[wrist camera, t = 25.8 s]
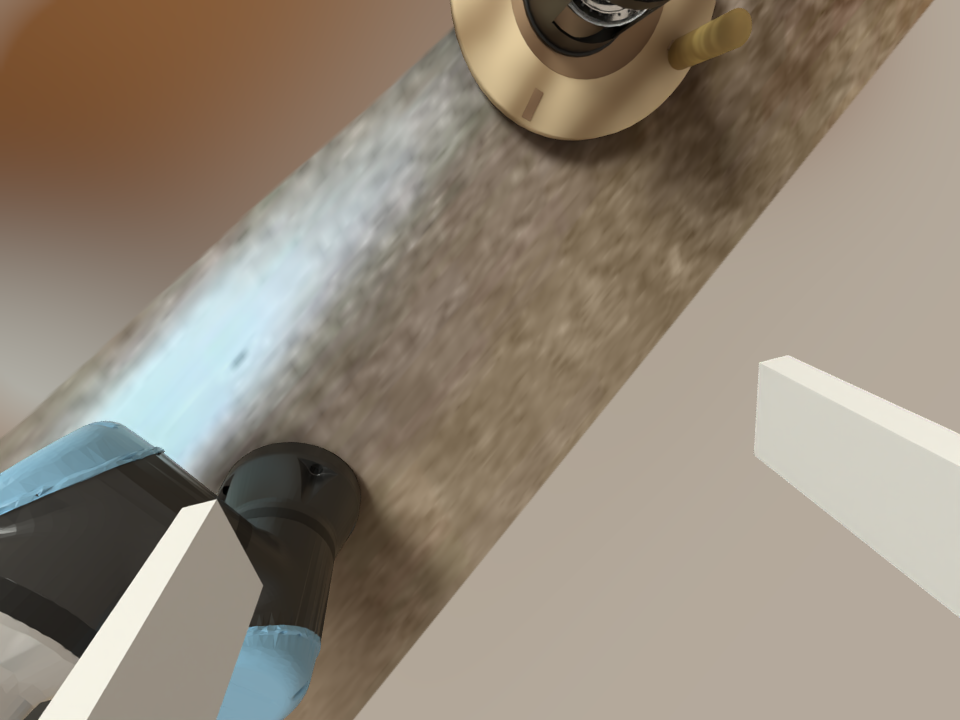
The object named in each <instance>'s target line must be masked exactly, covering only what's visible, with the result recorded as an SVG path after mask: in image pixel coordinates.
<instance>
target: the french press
mask: <svg viewBox="0 0 960 720" xmlns="http://www.w3.org/2000/svg"><path fill="white" fill-rule="evenodd" d="M669 1H670V0H523V5H524V9H525V13H526V16H527V18H528V21H529V23H530V26H531V28H532V29H533V31H534V32H535V34H536V35H537V37H538V38H539V39H540V40H541V41H542V42H543V43H544V44H545V45H546V46H547V47H548V48H550V49H551V50H553V51H554V52H556V53H559V54H561V55H564V56H567V57H576V58H578V57H587V56H590V55H593V54H596V53H598V52H600V51H601V50H603V49H604V48H606V47H608V46H609V45H610V44H611V43H612V42H613V41H614V40H615V39H616V38H617V37H618V36H619V35H620V34H622V33H623V32H625V31H626V30H627V29H629V28H630V27H632V26H633V25H635V24H636V23H638V22H639V21H641V20H642V19H644V18H645V17H647V16H648V15H650V14H651V13H653V12H654V11H656V10H657V9H658V8H660V7H661V6H663V5H664V4H666V3H667V2H669ZM566 6H568V7H569V8H570V9H571V10H572V11H573V12H574V13H575V14H576V15H577V16H579V17H580V18H582V19H583V20H585V21H588V22H590V23H593V24H595V25H598V26H605V27H604V28H603V29H602V30H601V31H599V32H598V33H596V34H594V35H591V36H588V37H574V36H571V35H570V34H568V33H567V32H565V31H564V30H562V29H561V28H560V27H559V26H558V25H557V24H556V22H555V21H554V19H555V18H556V17H557V16H558V15H559V14H560V13H561V12H562V11H563V10H564V9H565V8H566ZM647 9H648V10H647ZM646 10H647V11H646Z"/></svg>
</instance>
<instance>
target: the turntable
mask: <svg viewBox="0 0 960 720" xmlns="http://www.w3.org/2000/svg"><path fill="white" fill-rule="evenodd" d="M715 2H716V0H670V1H669V2H667V3H666V4H664V5H663V6H661V7H660V8H658V9H657V10H656V11H654V12H653V13H651V14H650V15H648V16H647V17H645V18H644V19H642V20H641V21H639V22H638V23H636V24H635V25H633V26H632V27H630V28H629V29H627V30H626V31H625V32H623V33H622V34H620V35H619V36H618V37H617V38H616V39H615V40H614V41H613V42H612V43H611V44H610V45H609V46H608V47H606V48H604V49H603V50H601V51H600V52H598V53H596V54H593V55H590V56H587V57H578V58H576V57H567V56H564V55H561V54H559V53H556V52H554V51H553V50H551V49H550V48H548V47H547V46H546V45H545V44H544V43H543V42H542V41H541V40H540V39H539V38H538V37H537V35H536V34H535V32H534V31H533V29H532V28H531V26H530V23H529V21H528V18H527V16H526V13H525V9H524V5H523V0H450V5H451V13H452V19H453V24H454V28H455V33H456V37H457V40H458V43H459V46H460V49H461V52H462V55H463V57H464V59H465V61H466V63H467V66H468V68H469V70H470V72H471V74H472V76H473V77H474V79H475V80H476V82H477V84H478V85H479V87H480V88H481V90H482V91H483V92H484V94H485V95H486V96H487V97H488V99H489V100H490V101H491V102H492V103H493V104H494V105H495V106H496V107H497V108H498V109H499V110H500V111H501V112H502V113H503V114H504V115H505V116H507V117H508V118H509V119H511V120H512V121H514V122H515V123H516V124H518V125H519V126H521V127H523V128H525V129H527V130H529V131H531V132H533V133H536V134H539V135H542V136H545V137H548V138H553V139H559V140H575V141H577V140H586V139H593V138H598V137H602V136H606V135H609V134H613V133H616V132H619V131H621V130H623V129H625V128H628V127H630V126H632V125H634V124H635V123H637V122H639V121H640V120H642V119H644V118H645V117H646V116H648V115H649V114H650V113H652V112H653V111H654V110H655V109H657V108H658V107H659V106H660V105H661V104H662V103H663V102H664V101H665V100H666V99H667V98H668V97H669V96H670V95H671V94H672V93H673V91H674V90H675V89H676V88H677V86H678V85H679V84H680V83H681V81H682V80H683V79H684V77H685V75H686V74H687V72H688V71H689V69H690V67H691V66H693V65H696V64H698V63H701V62H703V61H706V60H708V59H711V58H713V57H716V56H718V55H721V54H724V53H726V52H729V51H731V50H734V49H736V48H739V47H741V46H742V45H743V44H744V43H745V42H746V41H747V40H748V38H749V36H750V34H751V30H752V20H751V16H750V14H749V13H748V12H747V11H746V10H745V9H742V8H736V9H733V10H731V11H729V12H728V13H726V14H724V15H722V16H720V17H718V18H716V19H714V20H712V21H711V18H712V15H713V11H714V7H715ZM647 10H648V9H647ZM647 10H646V11H647ZM554 21H555V22H556V24H557V25H558V26H559V27H560V28H561V29H562V30H564V31H565V32H567V33H568V34H570V35H571V36H574V37H588V36H591V35H594V34H596V33H598V32H599V31H601V30H602V29H603V28H604V27H605V26H598V25H595V24H593V23H590V22H588V21H585V20H583V19H582V18H580V17H579V16H577V15H576V14H575V13H574V12H573V11H572V10H571V9H570V8H569V7H568V6H566V8H565V9H564V10H563V11H562V12H561V13H560V14H559V15H558V16H557V17H556V18H555V19H554Z"/></svg>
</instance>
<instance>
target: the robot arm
mask: <svg viewBox="0 0 960 720" xmlns="http://www.w3.org/2000/svg"><path fill="white" fill-rule="evenodd" d="M758 376H759V377H758V392H757V409H756V426H755V444H754V455H755V456H756V457H757V458H758V459H760V460H761V461H762V462H763V463H765V464H766V465H767V466H768V467H770V468H771V469H772V470H774V471H775V472H776V473H777V474H779V475H780V476H781V477H782V478H784V479H785V480H786V481H787V482H789V483H790V484H791V485H792V486H794V487H795V488H796V489H798V490H799V491H800V492H801V493H803V494H804V495H805V496H806V497H808V498H809V499H810V500H811V501H813V502H814V503H815V504H817V505H818V506H819V507H820V508H822V509H823V510H824V511H825V512H827V513H828V514H829V515H831V516H832V517H833V518H834V519H835V520H837V521H838V522H839V523H841V524H842V525H843V526H844V527H846V528H847V529H848V530H849V531H851V532H852V533H853V534H854V535H856V536H857V537H858V538H859V539H861V540H862V541H863V542H865V543H866V544H867V545H869V546H870V547H871V548H872V549H873V550H875V551H876V552H877V553H879V554H880V555H881V556H882V557H883V558H885V559H886V560H887V561H888V562H890V563H891V564H893V565H894V566H895V567H896V568H897V569H899V570H900V571H901V572H902V573H904V574H905V575H906V576H907V577H909V578H910V579H911V580H912V581H914V582H915V583H916V584H918V585H919V586H920V587H922V588H923V589H924V590H925V591H926V592H928V593H929V594H930V595H931V596H933V597H934V598H935V599H936V600H938V601H939V602H940V603H942V604H943V605H944V606H945V607H947V608H948V609H949V610H950V611H952V612H953V613H954V614H955V615H957V616H958V617H959V618H960V434H958V433H956V432H954V431H952V430H950V429H948V428H945V427H943V426H941V425H939V424H937V423H935V422H932V421H930V420H928V419H926V418H924V417H921V416H919V415H917V414H915V413H913V412H911V411H908V410H906V409H904V408H902V407H900V406H897V405H895V404H893V403H891V402H889V401H887V400H884V399H882V398H880V397H878V396H876V395H874V394H871V393H869V392H867V391H865V390H863V389H861V388H858V387H856V386H854V385H852V384H849V383H848V382H845V381H843V380H841V379H839V378H837V377H834V376H832V375H830V374H828V373H826V372H823V371H821V370H819V369H817V368H815V367H813V366H811V365H808V364H806V363H804V362H802V361H799V360H797V359H795V358H793V357H791V356H789V355H787V356H784V357H780V358H775V359H771V360H767V361H764V362H760V363H759V375H758ZM360 502H361V493H360V487H359V484H358V481H357V479H356V477H355V475H354V473H353V472H352V470H351V469H350V468H349V467H348V466H347V464H346V463H344V462H343V461H342V460H341V459H340V458H338V457H337V456H336V455H334V454H332V453H331V452H329V451H327V450H324V449H322V448H319V447H316V446H313V445H309V444H303V443H292V442H288V443H277V444H271V445H267V446H264V447H261V448H258V449H256V450H254V451H252V452H250V453H249V454H247V455H245V456H244V457H243V458H241V459H240V460H239V461H238V462H237V463H236V464H235V465H234V466H233V468H232V469H231V470H230V472H229V474H228V475H227V477H226V479H225V480H224V482H223V484H222V486H221V488H220V490H219V493H218V496H217V495H215V494H214V493H213V492H212V491H210V490H209V489H208V488H207V487H205V486H204V485H203V484H202V483H200V482H199V481H198V480H197V479H195V478H194V477H193V476H192V475H190V474H189V473H188V472H187V471H185V470H184V469H183V468H182V467H180V466H179V465H178V464H177V463H175V462H174V461H173V460H172V459H170V458H169V457H168V456H167V455H165V454H164V450H163V449H162V448H160V447H154V446H152V445H151V444H150V443H148V442H147V441H145V440H144V439H143V438H141V437H140V436H138V435H137V434H136V433H134V432H133V431H131V430H130V429H128V428H127V427H126V426H124V425H122V424H120V423H116V422H111V421H101V422H95V423H91V424H88V425H86V426H83V427H81V428H79V429H77V430H75V431H73V432H72V433H70V434H68V435H66V436H64V437H62V438H60V439H59V440H57V441H55V442H53V443H51V444H50V445H48V446H46V447H44V448H43V449H41V450H39V451H37V452H36V453H34V454H32V455H30V456H29V457H27V458H25V459H24V460H22V461H20V462H19V463H17V464H15V465H14V466H12V467H10V468H9V469H7V470H5V471H4V472H2V473H0V720H283V719H284V718H285V717H287V716H288V715H289V714H290V713H291V712H292V711H293V710H294V709H295V708H296V707H297V706H298V704H299V703H300V702H301V700H302V699H303V697H304V696H305V694H306V692H307V689H308V687H309V684H310V680H311V677H312V673H313V669H314V665H315V661H316V658H317V656H318V654H319V652H320V646H321V637H322V631H323V625H324V619H325V613H326V607H327V601H328V595H329V589H330V583H331V577H332V571H333V565H334V560H335V557H336V556H337V554H338V552H339V551H340V549H341V548H342V546H343V544H344V543H345V541H346V540H347V539H348V537H349V536H350V534H351V533H352V531H353V530H354V527H355V525H356V522H357V520H358V516H359V509H360ZM51 699H52V700H51Z"/></svg>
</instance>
